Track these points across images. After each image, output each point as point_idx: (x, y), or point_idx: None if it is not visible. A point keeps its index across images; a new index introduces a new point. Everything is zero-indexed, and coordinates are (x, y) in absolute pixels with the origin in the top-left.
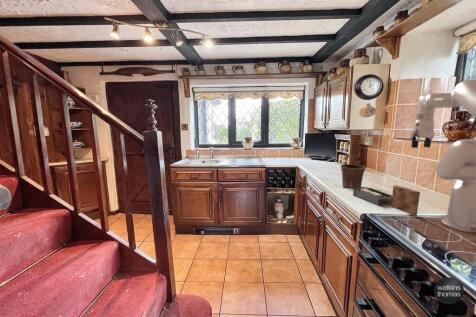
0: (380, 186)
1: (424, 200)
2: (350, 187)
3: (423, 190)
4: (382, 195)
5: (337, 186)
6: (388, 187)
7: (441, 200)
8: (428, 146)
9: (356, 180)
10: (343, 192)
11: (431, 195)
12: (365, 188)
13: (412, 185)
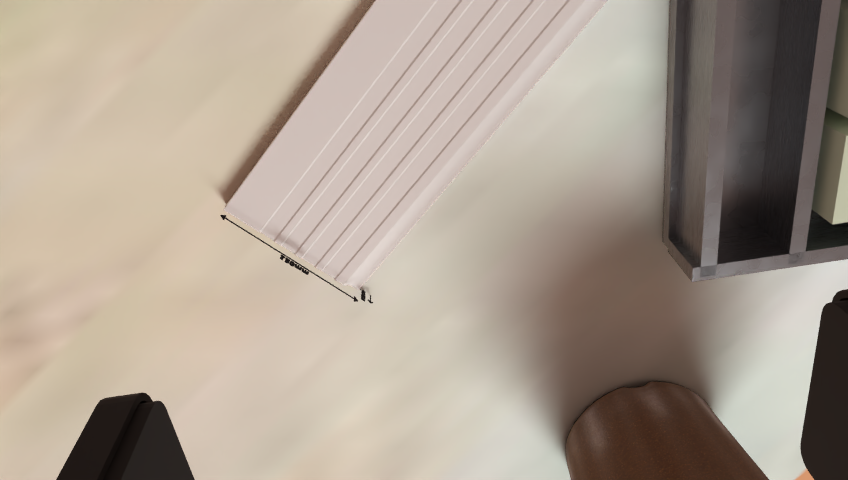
0: (351, 441)
1: (255, 39)
2: (705, 404)
3: (7, 309)
4: (819, 31)
5: None
6: (297, 412)
7: (63, 13)
8: (160, 428)
9: (705, 439)
10: None
11: (46, 167)
12: (762, 265)
13: (3, 445)
